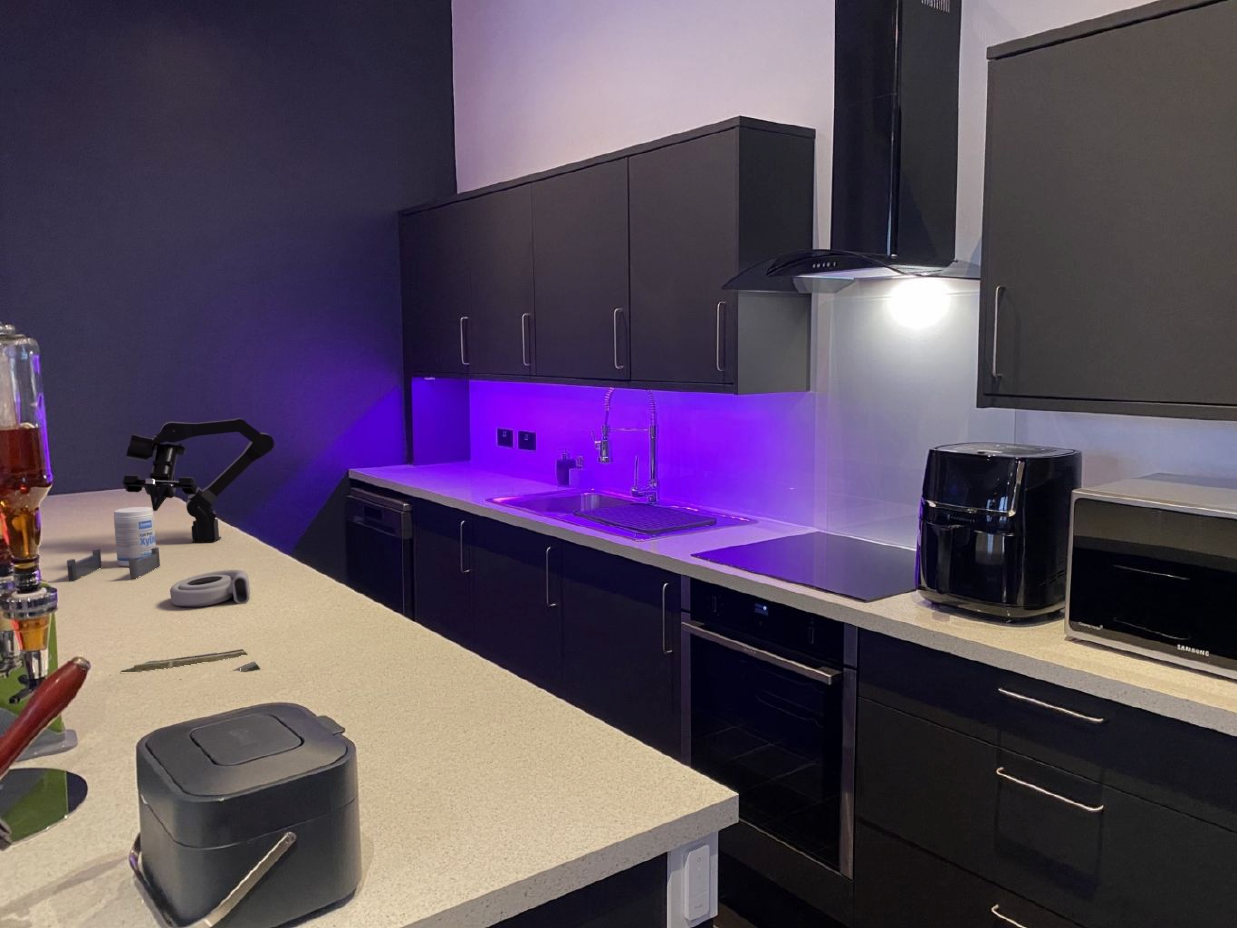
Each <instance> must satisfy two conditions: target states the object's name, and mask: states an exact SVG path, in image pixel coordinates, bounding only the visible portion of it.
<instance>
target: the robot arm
mask: <svg viewBox="0 0 1237 928" xmlns="http://www.w3.org/2000/svg"><path fill="white" fill-rule="evenodd" d="M227 433H239V434H241V435H242V436H243V437H244V438H246V439H247V440H249V442H248V444H247V446H246V447H245V449H244V450H243V452H242V453H241V454H240V455H239V456H238V457H237V458H236V459H234V461H233V462H232V463H231V464H230V465H229V466H227V468H225V470H223V471H222V472H221V473H220V474H219V476H217V477H216V478H215V479H214V480H213V481H212V482H211V483H210V484H209V485H208V486H206V487H204V488H203V489H201V487H199V486H197V483H196V480H195V477H193V476H179V477H178V480H176V477H175V472H176V471H175V468H176V465H177V460H178V456H179V455H180V456H185V453H186V447H184V446H183V445H182V443H179V444H173V443H178V442H180V441H184V440H188V439H191V438H194V437H198V436H201V437H202V436H207V435H209V436H211V435H219V434H227ZM166 442H167V443H166ZM274 447H275V441H274V439H273V437H272V436H271V435H270V434H268V433H267V432H259V431H258V430H257V429H256V428H254V427H253V426H252V425H250V424H249V423H248V422H247V421H246V420H245V419H243V418H241V417H236V418H234V419H233V418H232V419H222V420H215V421H212V420H211V421H204V422H202V421H201V422H186V421H185V422H184V421H167V422H165V423H163V425H162V427H161V428H160V431H159V432H158V433H157V434H156V435H153V437H146V436H142V435H141V436H140V435H138V434H135V433H134V434H133V433H132V434H131V436H130V441H129V444H128V446H127V450H126V455H125V457H126V458H128V459H133V460H134V459H135V460H139V461H144V462H147V461H148V459H153V456H154V460H152V467H151V468H152V469H151V472H150V473H149V478H144V479H142V478H141V476H140V475H139V474H125V475H124V476H123V477H122V481H121V482H122V485H123V487H124V490H125V492H128V493H140V492H141V491H143V488H144V490H145V493H146V494H147V495H148V496H150V501H151V506H152V507H151V508H152V511H153V512H158V510H159V509H160V507H161V505H162V504H163V503H164V501H165V500H166V499H167V498H168V499H173V498H174V497H175V494H176V491H177V489H181V491H182V493H183V494H184V495H188V496H187V498H188V499H187V501H186V505H185V506H186V511H187V514H188V515H190V516H191V517H193V518H194V519H195V520H193V521H192V526H191V538H192V540H191V543H193V544H196V543H200V544H201V543H215V542H216V540H217V541H218V539H219V538H221V539H222V536H220V533H219V532H220V530H219V519H218V518H217V514H216V511H215V510H214V509H213V508H211V507H212V506H213V504H214V503H215V501H216V500H217V498H218V497H219V495H221V493H223V491H224V490H225V489H227V488H228V487H229V486H230V485H231V484H232V483H233V482H234V481H235V480H236V479H237V478H238V477H239V476H240V475H241V474H242V473H243V472H244V471H246V469H248V467H249V466H250V465H252V463H254V462H256V461H258V460H259V459H261V458H262V457H264V456H265V455H267V454H268V453H271V451H273V449H274ZM154 452H155V455H154ZM219 540H220V539H219ZM214 541H215V542H214Z"/></svg>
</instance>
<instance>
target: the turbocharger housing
mask: <svg viewBox="0 0 1237 928" xmlns="http://www.w3.org/2000/svg"><path fill="white" fill-rule="evenodd" d="M169 593H170V600H171V604H173V606H176V607H189V608H190V607H191V608H197V607H206V606H212V605H217V604H220V603H222V602H225V601H227V600H230V599H231V598H232V597H233V600H234V602H235V603H237V604H238V605H239V604H240V605H241V604H247V603H248V602H249V600H250V599H251V597H250V595H251V586H250V581H249V575H248V573H247V572H246V571H244V570H242V569H224V570H217V571H210V572H209V571H208V572H205V573H201V574H197V575H194V576H190V577H187V578H185V579H182V580H180V581H178V582H177V581H176V582H175V583H174V584H172V586H170V588H169Z"/></svg>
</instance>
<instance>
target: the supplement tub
mask: <svg viewBox="0 0 1237 928" xmlns="http://www.w3.org/2000/svg"><path fill="white" fill-rule="evenodd" d="M154 518H155V517H154V511H153V507H151V506H134V507H123V508H120V509H115V510H114V511H113V525H114V534H115V535H114V536H115V548H116V549H115V550H116V559H117V564H118V565H119V566H120V567H129V559H130V558H137V560H139V559H141V558H143V557H145V556H147V555H149V554H151V553H152V552H151V549H152V548H157V546H156V545H157V544H156V533H155V530H156V529H155V521H154Z"/></svg>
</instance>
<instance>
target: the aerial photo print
mask: <svg viewBox="0 0 1237 928" xmlns="http://www.w3.org/2000/svg"><path fill="white" fill-rule="evenodd" d="M241 655H246V656H248V655H249V653H248V652H246V651H245V650H244V649H234V650H229V651H224V652H223V651H222V652H218V653H217V652H211V653H204V654H197V655H192V656H190V655H188V656H184V657H183V656H182V657H176V658H172V659H170V658H169V659H160V660H149V661H147V662H144V663H138V664H136V665H134V666H133V667H131V668H126V669H122V670H120V673H121V672H138V673H143V672H142V671H146V672H151V671H150V670H154V671H156V670H155V669H162V670H169V669H174V668H173V667H177V668H181V667H180V666H183V667H185V666H184V665H190V666H192V665H191V664H196V665H198V664H197V663H202V662H208V663H213V662H218V661H219V660H220V661H224V660H223V659H225V660H229V659H235V658H240V657H239V656H241ZM241 657H242V656H241ZM228 658H229V659H228ZM202 664H203V663H202ZM164 668H166V669H164ZM168 668H169V669H168ZM240 668H241V671H240ZM257 670H261V668H260V666H259V665H258V664H257V662H256V661H252V662H250V663H247V664H246V663H245V664H244V665H243V666H239V667H237V668H235V669H233V670H231V671H229V673H230V672H235V671H238V672H241V673H248V672H252V671H257ZM179 680H180V681H182V680H183V679H181V678H180V679H179Z"/></svg>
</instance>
